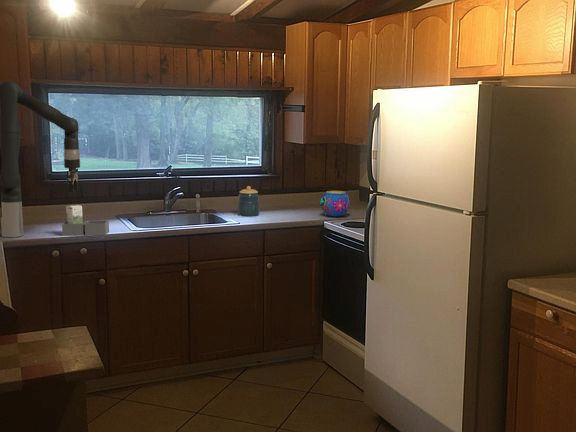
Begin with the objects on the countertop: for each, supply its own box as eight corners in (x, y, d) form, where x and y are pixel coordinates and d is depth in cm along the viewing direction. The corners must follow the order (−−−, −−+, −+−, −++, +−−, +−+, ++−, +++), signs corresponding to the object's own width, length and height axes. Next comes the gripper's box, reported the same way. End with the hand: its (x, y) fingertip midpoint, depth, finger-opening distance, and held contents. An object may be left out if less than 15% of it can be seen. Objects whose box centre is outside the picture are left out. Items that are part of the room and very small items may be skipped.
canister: (233, 215, 395) (233, 186, 392) (248, 212, 405) (248, 184, 402) (248, 217, 387) (248, 187, 384) (263, 214, 396) (263, 186, 394)
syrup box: (76, 232, 334) (75, 204, 332) (83, 233, 330) (82, 205, 328) (66, 233, 330) (65, 205, 327) (73, 235, 326) (72, 206, 324)
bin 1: (62, 235, 325) (62, 223, 324) (67, 232, 335) (66, 220, 334) (83, 235, 326) (82, 223, 325) (87, 231, 336) (86, 220, 335)
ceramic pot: (322, 213, 404) (322, 189, 401) (350, 214, 401) (351, 190, 398) (318, 218, 386) (319, 193, 384) (348, 219, 384) (349, 193, 381)
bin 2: (85, 235, 326) (84, 223, 325) (89, 231, 336) (88, 220, 335) (105, 235, 327) (105, 223, 326) (109, 231, 337) (108, 220, 336)
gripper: (67, 157, 331) (69, 189, 333) (60, 159, 317) (62, 192, 319) (82, 157, 331) (84, 189, 334) (76, 159, 317) (77, 192, 320)
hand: (73, 190), depth 327 cm, fingers open, 8 cm apart
